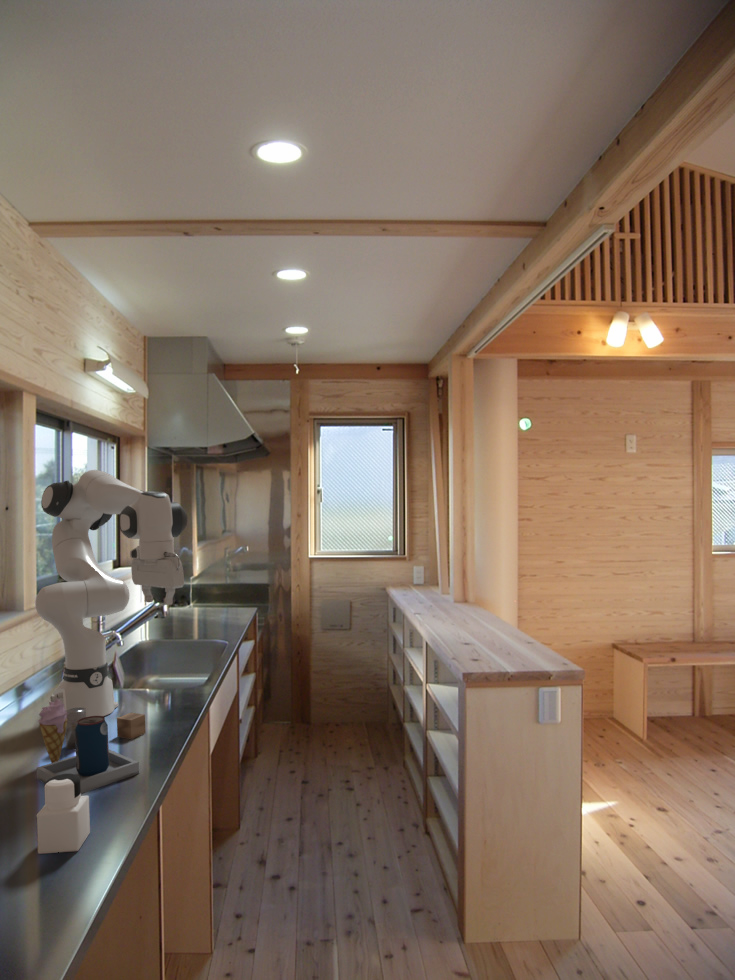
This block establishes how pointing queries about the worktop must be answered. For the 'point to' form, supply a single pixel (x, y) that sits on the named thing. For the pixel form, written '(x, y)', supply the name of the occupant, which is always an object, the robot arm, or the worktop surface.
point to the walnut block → (131, 725)
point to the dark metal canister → (73, 725)
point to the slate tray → (116, 771)
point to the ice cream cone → (53, 728)
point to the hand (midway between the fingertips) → (158, 603)
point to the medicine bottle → (63, 816)
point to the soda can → (91, 746)
